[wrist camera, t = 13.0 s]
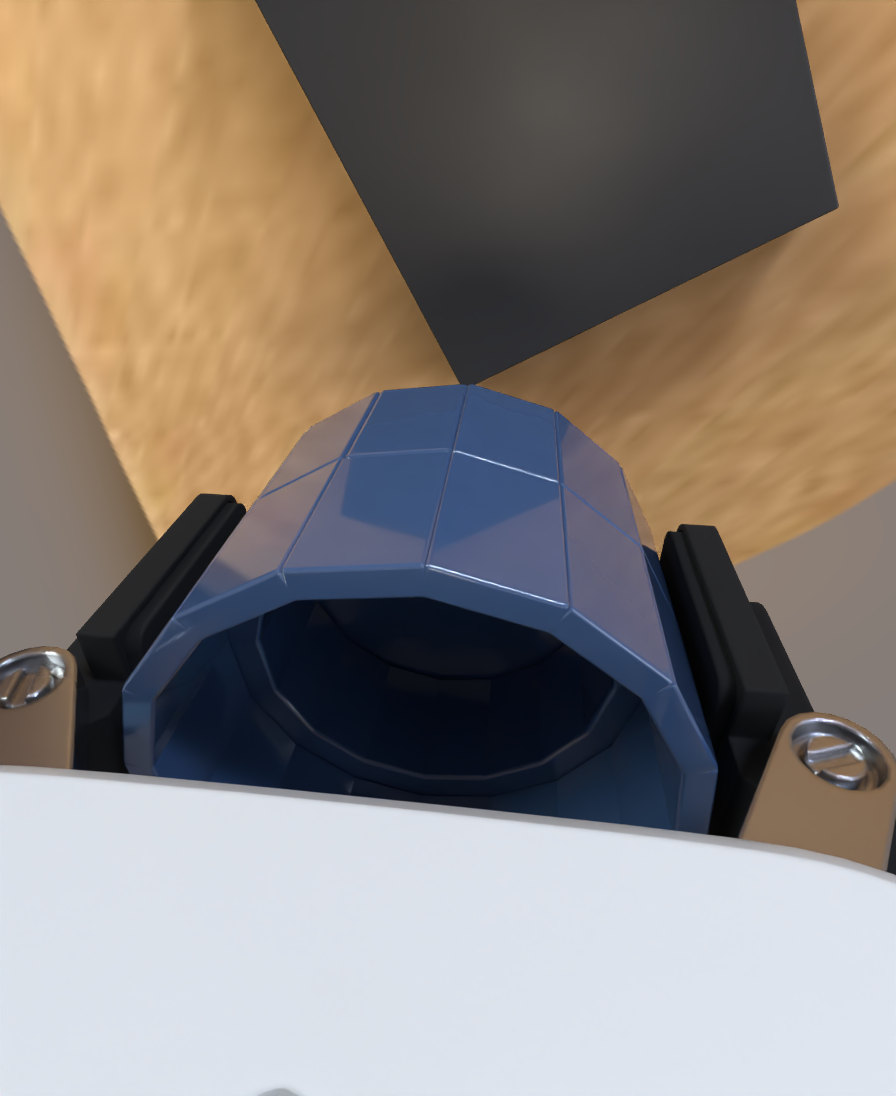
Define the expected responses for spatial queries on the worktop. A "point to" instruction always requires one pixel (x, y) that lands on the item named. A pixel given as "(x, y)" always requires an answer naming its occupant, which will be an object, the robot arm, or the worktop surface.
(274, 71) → the worktop surface
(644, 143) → the scale
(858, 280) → the worktop surface
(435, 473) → the cup
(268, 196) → the worktop surface
